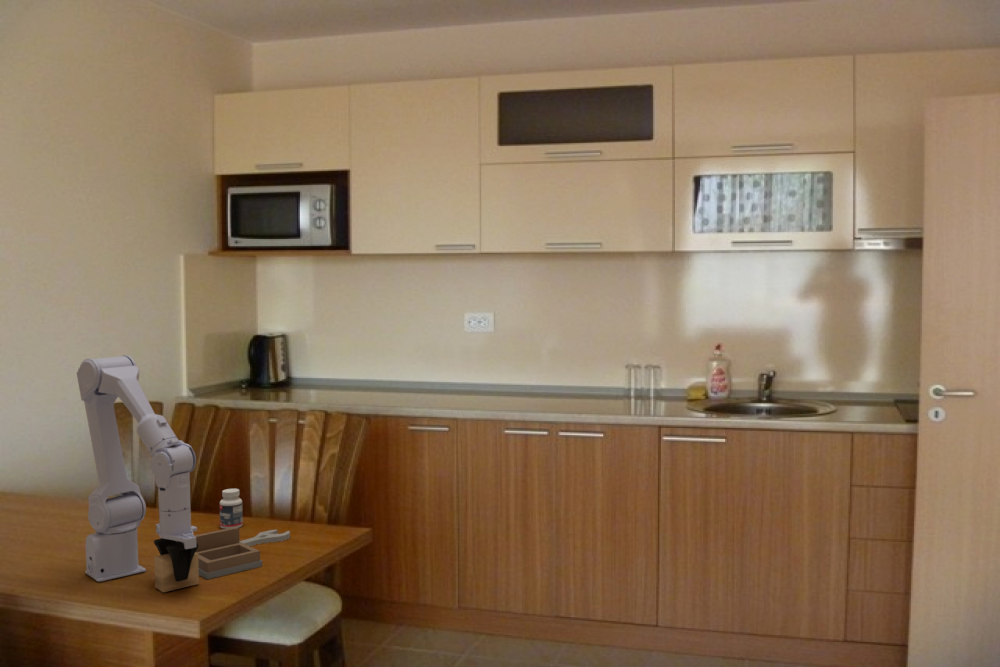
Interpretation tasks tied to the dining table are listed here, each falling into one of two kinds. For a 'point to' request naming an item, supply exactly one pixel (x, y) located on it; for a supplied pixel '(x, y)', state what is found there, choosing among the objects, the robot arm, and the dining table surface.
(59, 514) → the dining table surface
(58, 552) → the dining table surface
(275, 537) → the adjustable wrench
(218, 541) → the stand
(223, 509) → the pill bottle
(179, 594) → the dining table surface
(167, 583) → the light wooden block
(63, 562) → the dining table surface
